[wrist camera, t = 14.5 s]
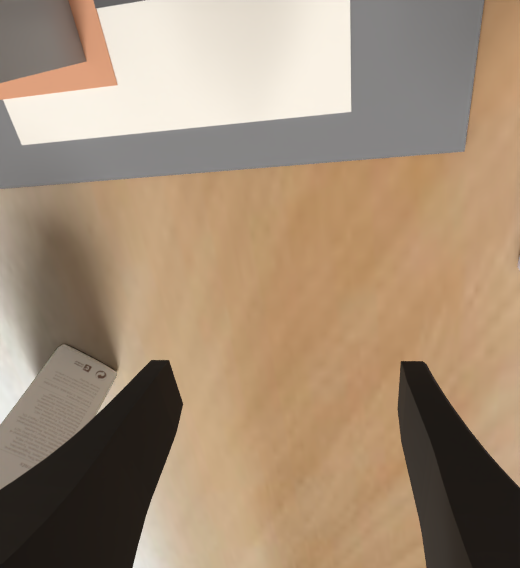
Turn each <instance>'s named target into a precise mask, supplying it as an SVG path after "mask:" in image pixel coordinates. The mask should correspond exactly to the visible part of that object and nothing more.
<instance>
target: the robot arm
mask: <svg viewBox="0 0 520 568" xmlns="http://www.w3.org/2000/svg"><path fill="white" fill-rule="evenodd" d="M518 268H519V270H520V257H519V261H518ZM182 406H183V402H182V399H181V396H180V393H179V390H178V387H177V384H176V381H175V378H174V375H173V371H172V368H171V365H170V362H169V360H151V361H150V362H149V363H148V364H147V365H146V366H145V367H144V368H143V369H142V370H141V371H140V372H139V373H138V374H137V375H136V376H135V377H134V378H133V379H132V380H131V381H130V382H129V384H128V385H127V386H126V387H125V388H124V389H123V390H122V391H121V392H120V393H119V394H118V395H117V396H116V397H115V398H114V399H113V400H112V401H111V402H110V403H109V404H108V405H107V406H106V407H105V408H104V409H102V410H101V411H100V412H99V413H98V414H97V415H96V416H95V417H94V418H93V419H92V420H91V421H89V422H88V423H87V424H86V425H85V426H84V427H83V428H82V429H81V430H80V431H79V432H77V433H76V434H75V435H74V436H73V437H71V438H70V439H69V440H68V441H67V442H65V443H64V444H63V445H62V446H60V447H59V448H58V449H57V450H55V451H54V452H53V453H52V454H50V455H49V456H48V457H46V458H45V459H44V460H42V461H41V462H40V463H38V464H37V465H35V466H34V467H32V468H31V469H30V470H28V471H27V472H25V473H24V474H22V475H21V476H20V477H18V478H17V479H15V480H14V481H12V482H11V483H9V484H8V485H6V486H5V487H3V488H2V489H0V568H132V567H133V563H134V559H135V555H136V551H137V547H138V543H139V540H140V536H141V532H142V529H143V525H144V521H145V518H146V514H147V511H148V508H149V505H150V502H151V499H152V496H153V494H154V491H155V488H156V486H157V483H158V481H159V478H160V475H161V473H162V470H163V467H164V465H165V462H166V460H167V457H168V454H169V451H170V449H171V446H172V443H173V441H174V438H175V435H176V432H177V428H178V424H179V420H180V415H181V411H182ZM398 417H399V425H400V434H401V442H402V447H403V451H404V455H405V460H406V464H407V469H408V473H409V477H410V482H411V486H412V490H413V495H414V499H415V503H416V508H417V512H418V516H419V521H420V526H421V532H422V538H423V545H424V552H425V559H426V567H427V568H520V488H519V486H518V485H517V484H516V483H515V482H514V481H513V480H512V479H511V478H510V477H509V476H508V475H507V474H506V473H505V472H504V471H503V469H502V468H501V467H500V466H499V465H498V464H497V463H496V462H495V460H494V459H493V458H492V457H491V456H490V455H489V453H488V452H487V451H486V450H485V449H484V447H483V446H482V445H481V444H480V442H479V441H478V440H477V439H476V438H475V436H474V435H473V434H472V432H471V431H470V430H469V429H468V427H467V426H466V425H465V423H464V422H463V420H462V419H461V418H460V416H459V415H458V414H457V412H456V411H455V409H454V408H453V407H452V405H451V404H450V402H449V401H448V399H447V398H446V396H445V395H444V393H443V392H442V390H441V389H440V387H439V385H438V384H437V382H436V380H435V379H434V377H433V375H432V374H431V372H430V370H429V368H428V366H427V364H425V363H424V362H423V361H401V368H400V383H399V397H398Z"/></svg>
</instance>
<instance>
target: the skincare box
mask: <svg viewBox="0 0 520 568" xmlns="http://www.w3.org/2000/svg"><path fill="white" fill-rule="evenodd" d="M116 376H117V372H116V371H114V370H113V369H111V368H109V367H108V366H106V365H105V364H103V363H101V362H99V361H97V360H95V359H93V358H91V357H89V356H88V355H86V354H84V353H82V352H80V351H78V350H76V349H74V348H72V347H70V346H67V345H65V344H63V345H61V346H59V347H58V348H57V349H56V351H55V352H54V353H53V355H52V356H51V357H50V359H49V360H48V361H47V363H46V364H45V365H44V367H43V368H42V369H41V371H40V372H39V374H38V375H37V376H36V378H35V379H34V380H33V382H32V383H31V385H30V386H29V387H28V389H27V390H26V391H25V393H24V394H23V395H22V397H21V398H20V399H19V401H18V402H17V403H16V405H15V406H14V407H13V409H12V410H11V411H10V413H9V414H8V415H7V417H6V418H5V419H4V421H3V422H2V423H1V425H0V489H2V488H3V487H5V486H6V485H8V484H9V483H11V482H12V481H14V480H15V479H17V478H18V477H20V476H21V475H22V474H24V473H25V472H27V471H28V470H30V469H31V468H32V467H34V466H35V465H37V464H38V463H40V462H41V461H42V460H44V459H45V458H46V457H48V456H49V455H50V454H52V453H53V452H54V451H55V450H57V449H58V448H59V447H60V446H62V445H63V444H64V443H65V442H67V441H68V440H69V439H70V438H71V437H73V436H74V435H75V434H76V433H77V432H79V431H80V430H81V429H82V428H83V427H84V426H85V425H86V424H87V423H88V422H89V421H91V420H92V419H93V418H94V417H95V416H96V414H97V412H98V410H99V408H100V406H101V405H102V403H103V401H104V399H105V397H106V395H107V393H108V392H109V390H110V388H111V386H112V384H113V382H114V380H115V378H116Z"/></svg>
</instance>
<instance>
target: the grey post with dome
mask: <svg viewBox="0 0 520 568" xmlns="http://www.w3.org/2000/svg"><path fill="white" fill-rule="evenodd" d="M83 62H87V61H86V58H85V54H84V51H83V48H82V44H81V41H80V37H79V34H78V31H77V27H76V24H75V21H74V17H73V14H72V11H71V7H70V4H69V1H68V0H0V83H3V82H7V81H11V80H15V79H19V78H23V77H27V76H31V75H35V74H39V73H43V72H47V71H51V70H55V69H59V68H63V67H67V66H71V65H75V64H79V63H83Z"/></svg>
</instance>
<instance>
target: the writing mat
mask: <svg viewBox="0 0 520 568" xmlns="http://www.w3.org/2000/svg"><path fill="white" fill-rule="evenodd" d="M68 1H69V4H70V7H71V11H72V14H73V17H74V21H75V24H76V27H77V31H78V34H79V37H80V41H81V44H82V48H83V51H84V54H85V58H86V61H87V62H83V63H79V64H75V65H71V66H67V67H63V68H59V69H55V70H51V71H47V72H43V73H39V74H35V75H31V76H27V77H23V78H19V79H15V80H11V81H7V82H3V83H0V189H5V188H18V187H30V186H43V185H55V184H67V183H80V182H92V181H104V180H117V179H129V178H142V177H154V176H166V175H179V174H191V173H204V172H216V171H228V170H241V169H253V168H266V167H278V166H290V165H303V164H315V163H327V162H340V161H352V160H365V159H377V158H389V157H402V156H414V155H427V154H439V153H451V152H464V151H465V144H466V136H467V128H468V121H469V113H470V105H471V98H472V90H473V82H474V75H475V67H476V60H477V52H478V44H479V37H480V29H481V21H482V14H483V6H484V0H68Z"/></svg>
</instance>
